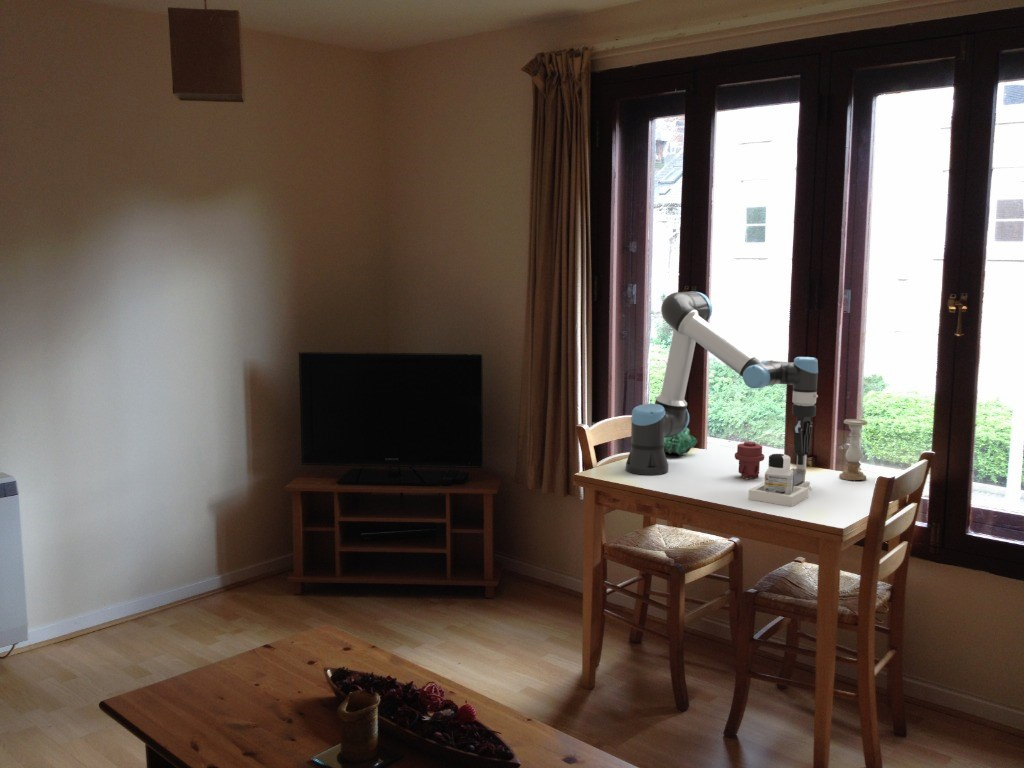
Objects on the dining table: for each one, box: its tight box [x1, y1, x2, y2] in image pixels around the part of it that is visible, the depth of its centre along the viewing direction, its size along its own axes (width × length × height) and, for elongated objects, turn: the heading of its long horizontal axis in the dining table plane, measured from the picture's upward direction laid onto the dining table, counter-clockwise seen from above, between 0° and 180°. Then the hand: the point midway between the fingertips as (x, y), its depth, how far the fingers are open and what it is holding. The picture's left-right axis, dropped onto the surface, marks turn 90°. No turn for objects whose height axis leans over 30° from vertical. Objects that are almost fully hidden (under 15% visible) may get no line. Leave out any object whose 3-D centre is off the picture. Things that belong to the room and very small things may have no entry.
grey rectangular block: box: [790, 467, 806, 490], centre depth 290 cm, size 4×10×5 cm, turn 142°
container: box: [763, 453, 793, 495], centre depth 280 cm, size 8×8×13 cm
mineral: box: [664, 426, 698, 457], centre depth 347 cm, size 18×16×10 cm
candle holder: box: [839, 418, 868, 482], centre depth 306 cm, size 9×9×20 cm
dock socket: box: [748, 480, 812, 507], centre depth 285 cm, size 14×25×3 cm, turn 142°
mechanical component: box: [734, 441, 765, 480], centre depth 308 cm, size 12×10×10 cm
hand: (801, 473), depth 296 cm, fingers closed
